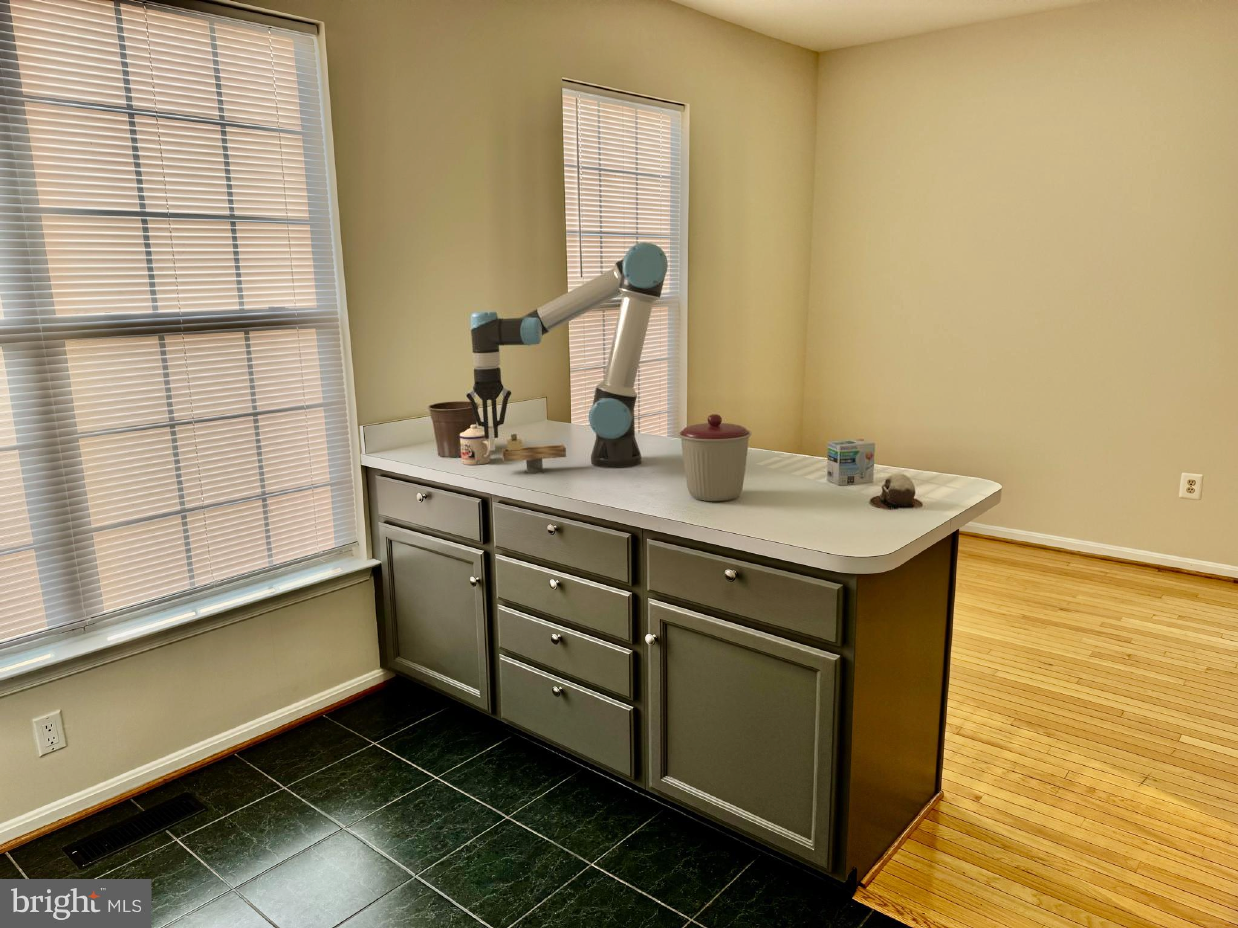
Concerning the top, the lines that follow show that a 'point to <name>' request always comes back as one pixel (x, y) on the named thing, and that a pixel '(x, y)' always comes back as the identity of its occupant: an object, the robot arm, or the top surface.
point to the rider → (514, 443)
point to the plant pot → (451, 425)
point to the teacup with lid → (474, 446)
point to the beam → (534, 456)
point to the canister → (714, 459)
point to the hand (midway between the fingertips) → (492, 449)
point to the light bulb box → (850, 462)
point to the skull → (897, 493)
